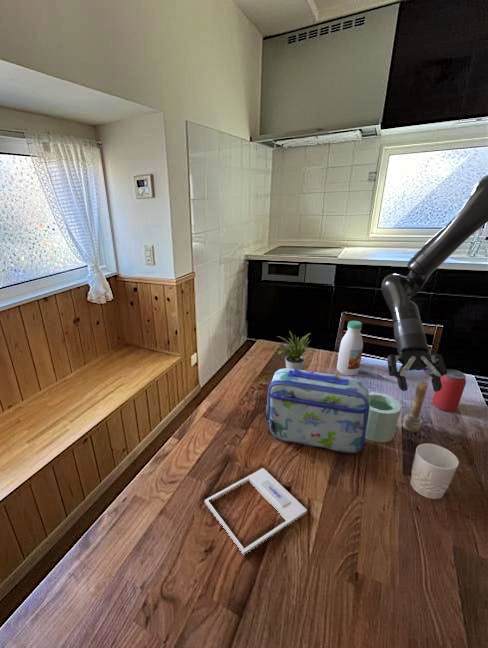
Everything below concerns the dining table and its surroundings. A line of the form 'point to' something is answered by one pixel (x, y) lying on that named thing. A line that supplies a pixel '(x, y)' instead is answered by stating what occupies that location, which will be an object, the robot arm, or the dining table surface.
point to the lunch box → (318, 410)
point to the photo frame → (273, 494)
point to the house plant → (294, 352)
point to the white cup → (432, 470)
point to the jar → (382, 417)
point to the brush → (416, 409)
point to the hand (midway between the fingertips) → (421, 390)
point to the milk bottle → (350, 350)
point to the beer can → (450, 390)
